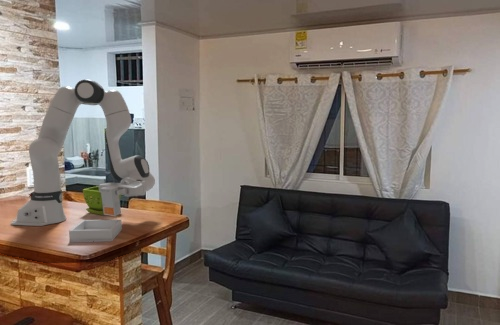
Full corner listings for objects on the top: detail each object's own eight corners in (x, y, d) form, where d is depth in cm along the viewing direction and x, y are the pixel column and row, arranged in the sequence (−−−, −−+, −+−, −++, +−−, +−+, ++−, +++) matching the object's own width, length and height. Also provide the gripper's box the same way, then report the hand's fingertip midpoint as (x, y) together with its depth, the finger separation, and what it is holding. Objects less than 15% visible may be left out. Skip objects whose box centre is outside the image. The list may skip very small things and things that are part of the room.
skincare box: (103, 215, 171) (99, 188, 168) (110, 211, 175) (106, 185, 172) (115, 216, 169) (111, 189, 166) (121, 212, 173) (118, 186, 170)
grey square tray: (69, 241, 154) (69, 230, 154) (83, 230, 170) (83, 220, 170) (111, 241, 156) (111, 229, 155) (121, 229, 172) (121, 219, 171)
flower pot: (105, 208, 212) (104, 184, 211) (123, 211, 205) (122, 187, 204) (82, 213, 200) (81, 188, 199) (101, 217, 193) (100, 191, 192)
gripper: (110, 178, 185) (89, 182, 172) (148, 181, 178) (128, 186, 165) (111, 191, 186) (89, 197, 173) (148, 195, 179) (129, 201, 166)
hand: (109, 191), depth 169 cm, fingers closed on skincare box, 6 cm apart
